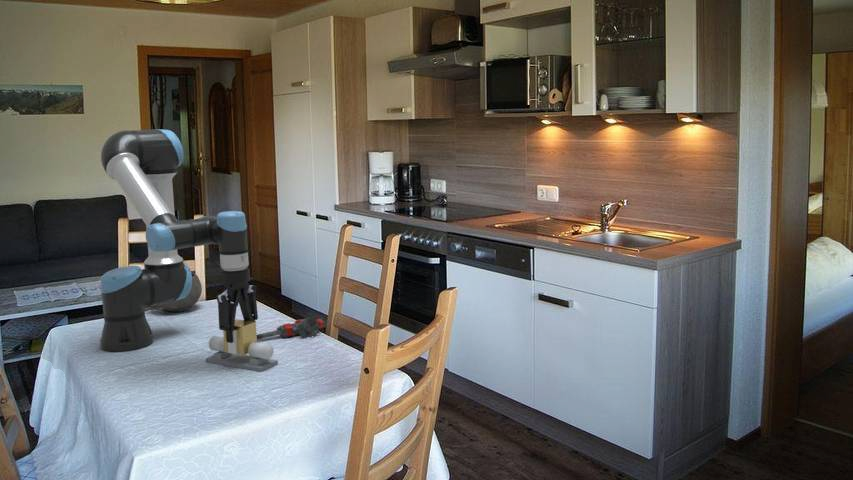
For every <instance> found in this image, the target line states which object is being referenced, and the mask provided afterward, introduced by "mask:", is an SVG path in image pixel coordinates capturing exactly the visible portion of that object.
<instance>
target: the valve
mask: <svg viewBox="0 0 853 480" xmlns="http://www.w3.org/2000/svg"><path fill="white" fill-rule="evenodd" d="M324 326H325V322H324V320H323V318H317V319H313V318H310V317H308V318H307V317H306V318H303V319H296V320H295V321H294V323H290V322H288V323H284V324H283V325H280V326H277V328H276V330H273V331H268V332H263V333H259V334H257V341H258V340H260V339H267V338H270V337H276V336H280V337H281V338H286V337H287V338H292V337H293V336H294V335H299V336H300V337H302V338H303V339H308V338H307V337H310V338H313V337H312V336H314V337H316V335H317V334H318V332H319V330H320V329H323V328H324Z"/></svg>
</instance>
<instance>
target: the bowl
mask: <svg viewBox="0 0 853 480" xmlns="http://www.w3.org/2000/svg"><path fill="white" fill-rule="evenodd" d="M190 272H191V274H192V286H191V290H190V292H189V294H188V295H187V296H186V297H185V298H183V299H180V300H176V301H174V302H167V303H162V304H157V305H156V306H157V307H158V308H160V309H162V310H165V311H167V312H173V313H174V311H175V313H177V311H178V312H183V311H184V312H185V311H186V310H188V309H190V308H191V307H193V306H195V304H197V303H198V301H199V299H200V298H201V296H202V292H203V291H202V290H203V288H202V283H201V280H200V278H199V276H198V275H197V274H196V273H195V272H192V271H190Z"/></svg>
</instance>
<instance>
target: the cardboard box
mask: <svg viewBox="0 0 853 480" xmlns="http://www.w3.org/2000/svg"><path fill="white" fill-rule="evenodd" d="M256 323H257V321H256V322H254V321H246V320H244V319H237V318H235V324H234V330H236V335H237V349H238V353H237V354H240V355H249V354H248V348H249V345H250V344H251V343H253V342H256V343H258V340H257V335H258V334H257V333H258V332H257V324H256ZM229 327H230V326H229ZM222 332H223V333H222V334H223V335H222V336H223V337H224V348H225V352H227V353H228V342H227V341H226V332H225V330H222Z"/></svg>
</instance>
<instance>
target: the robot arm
mask: <svg viewBox="0 0 853 480" xmlns="http://www.w3.org/2000/svg"><path fill="white" fill-rule="evenodd" d="M100 159H101V160H100V161H101V166H102V167H103V169H104V171H105V173H106V174H107V175H108V177H109V178H110V179H112V180H115V182H116V183H117V184H118V185H119V188H121V190H122V192H123V193H124V195H126V198H127V199H128V200H129V202H130V203H131V204H132V206H133V208H134V210H135V211H136V212H137V213H138V215H139V217H140V219H142V221H143V223H144V224H145V226H146V230H145V241H146V242H147V250H148V252H147V253H148V256H147V258H146V259H145V260H144V262H143V264H144V265H143V266H144V268H143V269H142V268H141V267H140V266H139V265H128V266H123V267H122V266H121V267H116V268H114V269H111V270H108V271H107V272H105V273H104V274H103V275H101V277H100V292H101V293H100V294H101V301H102V310H103V320H104V323H103V327H102V331H101V332H102V333H101V337H100V339H99V344H100V349H101V350H103V351H106V352H127V351H133V350H138V349H142V348H145V347H147V346H150V345H151V344H153V343H154V334H153V331H152V328H151V327H150V325H149V322H148V320H147V317H146V310H145V308H146V307H153V306H157V304H162V303H167V302H174V301H176V300H180V299H183V298H185V297H186V296H187V295H188V294H189V292H190V290H191V286H192V274H191V272H192V271H191V268H190V266H189V265H188V264H187V263H185V262H184V258H183V257H182V256H180V255H179V254H178V250H181V249H187V248H196V247H201V246H206V245H216V246H217V245H218V247H219V249H218V250H219V261H220V263H219V265H220V268H221V270H220V271H221V272H220V275H221V283H222V284H223V286H224V287H223V292H222V293H221V294H216V296H215V298H216V301H217V307H218V308H217V309H218V328H219V330H220V331H223V330H225V332H226V341H227V342H228V353H232V354H237V353H238V349H237V335H236V330H234V324H235V320H236V315H237V307H238V306H239V308H240V311H241V314H242V315H241V316H242V318H243V319H242V320H246V321H254V322H256V323H257V320H259V315H258V314H259V313H258V304H257V285H253V284H252V285H250V284H249V282H250V281H251V275H250V272H251V271H250V268H249V263H250V262H249V249H248V248H249V243H248V230H247V229H248V225H247V221H246V214H245V213H244V212H243V211H240V210H237V211H236V210H234V211H233V210H231V211H230V210H229V211H221V212H219V213H218V214H217V216H213V215H207V216H206V215H203V216H200V217H198V218H193V219H183V220H178V219H177V218H176V216H175V215H176V214H175V203H174V202H175V200H174V199H175V198H174V187H173V179H174V177H175V176H176V175H177V173H178V172H177V168H178V167H180V166H181V165H182V163H183V161H184V149H183V145H182V143H181V140H180V139H179V137H178V136H177V134H175V132H173V131H172V130H169V129H161V128H160V129H159V128H158V129H156V128H155V129H139V130H138V129H137V130H129V129H128V130H121V131H117V132H115V133H113V134H112V135H111V136H109V137H108V138H107V139H106V141H105V142H104V143H103V146H102V148H101V153H100ZM229 326H230V327H229Z"/></svg>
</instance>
